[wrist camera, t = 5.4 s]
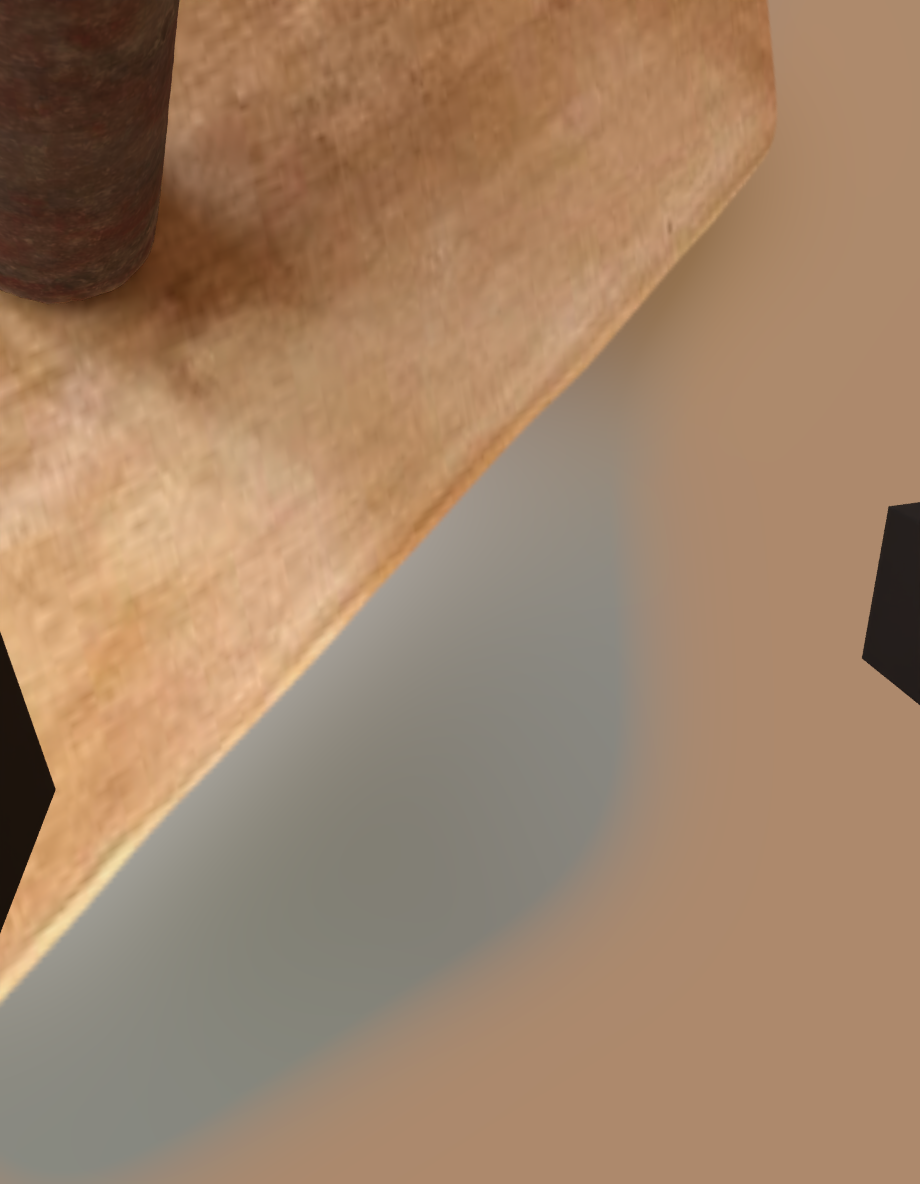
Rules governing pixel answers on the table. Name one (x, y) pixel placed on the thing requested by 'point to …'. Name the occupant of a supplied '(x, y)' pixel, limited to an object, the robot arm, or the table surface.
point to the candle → (81, 141)
